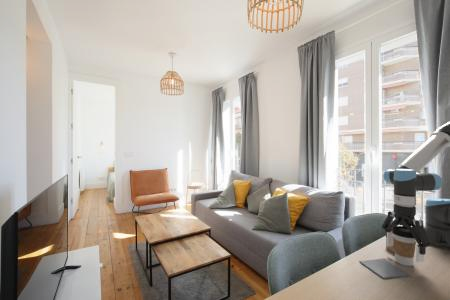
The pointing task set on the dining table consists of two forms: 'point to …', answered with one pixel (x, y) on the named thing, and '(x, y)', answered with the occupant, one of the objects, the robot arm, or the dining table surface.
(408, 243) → the coffee cup
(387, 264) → the slate coaster
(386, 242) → the walnut block
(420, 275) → the dining table surface
